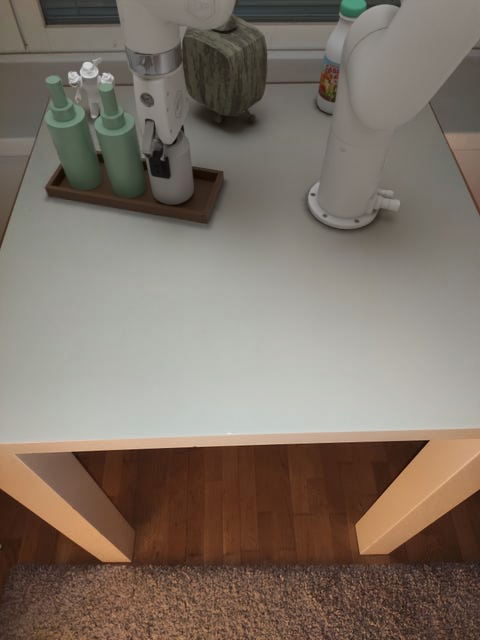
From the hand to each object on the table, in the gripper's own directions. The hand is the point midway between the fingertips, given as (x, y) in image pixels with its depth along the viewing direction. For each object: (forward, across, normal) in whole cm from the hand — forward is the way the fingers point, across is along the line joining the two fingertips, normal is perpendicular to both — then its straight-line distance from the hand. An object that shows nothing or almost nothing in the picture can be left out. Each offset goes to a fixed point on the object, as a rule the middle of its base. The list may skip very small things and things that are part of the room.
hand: (169, 160), depth 79 cm
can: (+8, 0, 0) cm, 8 cm away
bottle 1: (+7, 0, +17) cm, 18 cm away
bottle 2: (+7, 0, +8) cm, 11 cm away
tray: (+8, 0, +7) cm, 11 cm away
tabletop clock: (+8, +25, -3) cm, 26 cm away
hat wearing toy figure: (+8, +19, +22) cm, 30 cm away
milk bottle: (+8, +35, -25) cm, 44 cm away
